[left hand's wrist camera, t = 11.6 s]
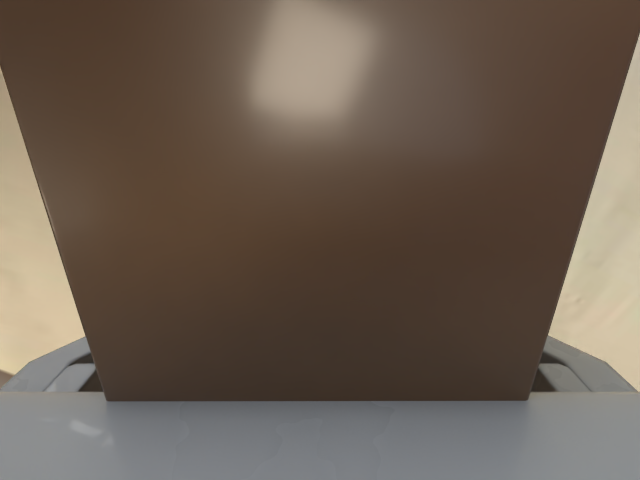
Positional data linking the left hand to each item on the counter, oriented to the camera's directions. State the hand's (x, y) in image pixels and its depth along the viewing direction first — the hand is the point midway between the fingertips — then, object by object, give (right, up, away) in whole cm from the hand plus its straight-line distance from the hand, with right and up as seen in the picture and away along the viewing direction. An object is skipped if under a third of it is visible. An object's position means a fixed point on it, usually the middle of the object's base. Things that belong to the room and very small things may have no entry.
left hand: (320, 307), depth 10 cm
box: (0, +11, -1) cm, 11 cm away
